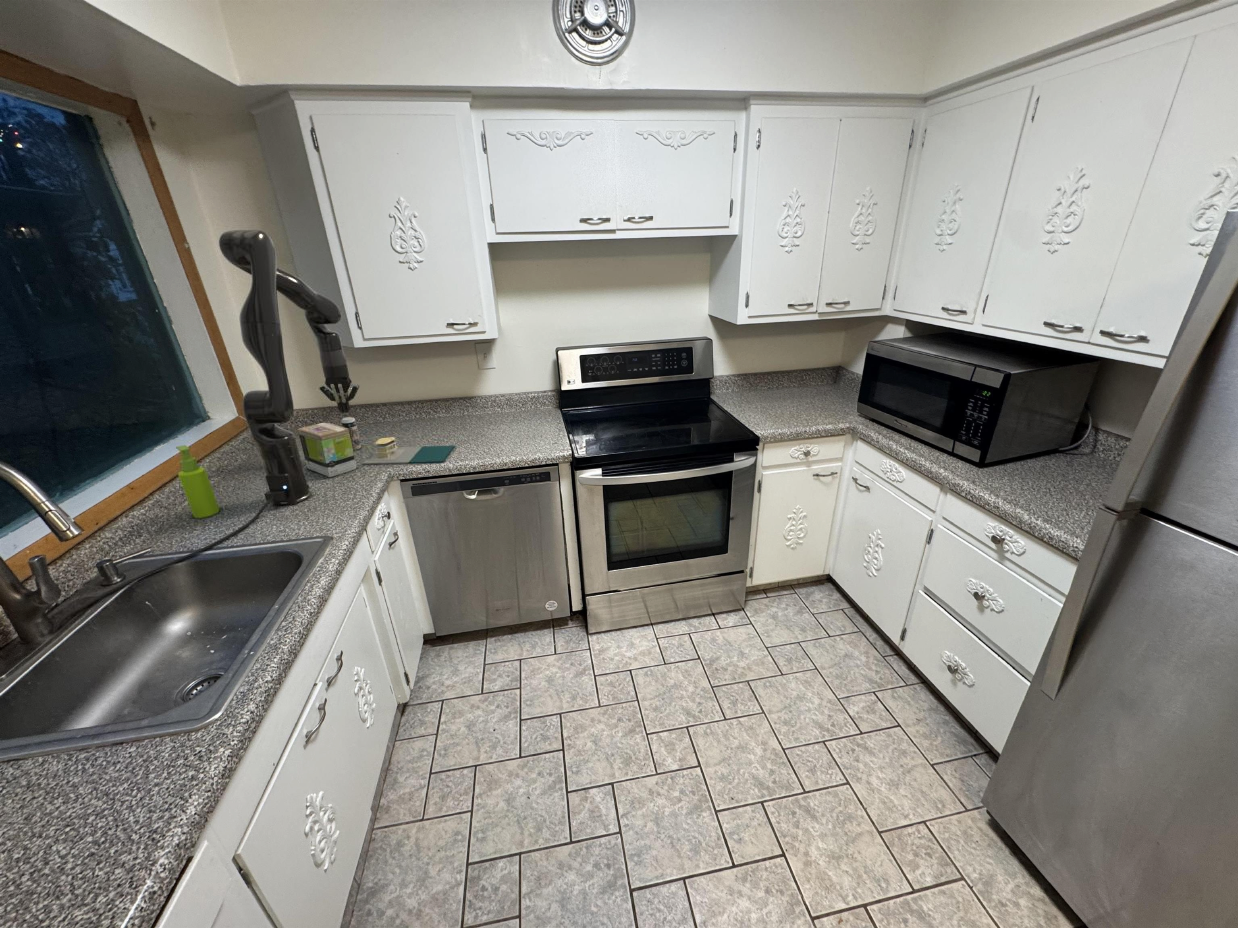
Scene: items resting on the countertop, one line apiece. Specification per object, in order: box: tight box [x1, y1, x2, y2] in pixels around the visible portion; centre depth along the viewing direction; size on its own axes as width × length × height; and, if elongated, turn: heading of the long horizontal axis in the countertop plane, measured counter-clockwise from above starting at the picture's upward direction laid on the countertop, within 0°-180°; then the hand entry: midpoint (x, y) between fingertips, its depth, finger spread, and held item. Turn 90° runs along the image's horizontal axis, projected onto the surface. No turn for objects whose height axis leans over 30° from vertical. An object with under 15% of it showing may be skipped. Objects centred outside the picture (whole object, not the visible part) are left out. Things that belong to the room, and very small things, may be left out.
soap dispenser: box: [175, 444, 220, 519], centre depth 141 cm, size 6×7×20 cm
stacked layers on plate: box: [370, 436, 404, 460], centre depth 183 cm, size 10×9×6 cm
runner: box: [361, 445, 455, 466], centre depth 185 cm, size 16×28×1 cm, turn 93°
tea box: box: [297, 421, 357, 478], centre depth 171 cm, size 15×10×15 cm
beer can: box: [341, 416, 362, 451], centre depth 190 cm, size 5×5×12 cm
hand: (345, 412), depth 178 cm, fingers closed
